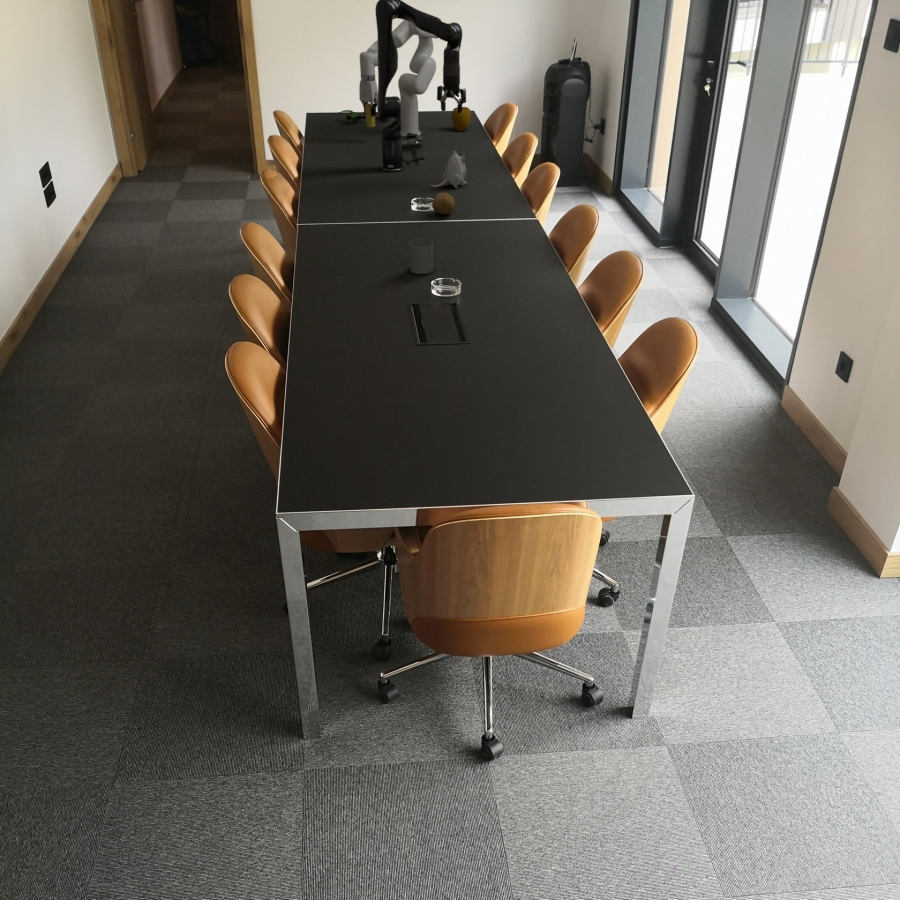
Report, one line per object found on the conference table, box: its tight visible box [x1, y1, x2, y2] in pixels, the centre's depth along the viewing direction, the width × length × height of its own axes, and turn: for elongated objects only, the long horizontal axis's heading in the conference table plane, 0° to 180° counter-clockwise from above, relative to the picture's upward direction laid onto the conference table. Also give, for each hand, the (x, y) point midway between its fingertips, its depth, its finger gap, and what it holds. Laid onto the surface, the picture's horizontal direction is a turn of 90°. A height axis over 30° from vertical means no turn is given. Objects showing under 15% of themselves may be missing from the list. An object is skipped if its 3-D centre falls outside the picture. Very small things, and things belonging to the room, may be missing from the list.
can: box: [365, 102, 376, 128], centre depth 459 cm, size 5×5×11 cm
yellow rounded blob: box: [451, 106, 472, 132], centre depth 487 cm, size 11×11×13 cm
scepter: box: [337, 109, 389, 125], centre depth 507 cm, size 6×13×30 cm
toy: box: [428, 149, 468, 189], centre depth 390 cm, size 9×24×15 cm, turn 137°
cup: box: [408, 237, 434, 275], centre depth 305 cm, size 8×8×10 cm
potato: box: [431, 192, 456, 216], centre depth 360 cm, size 10×14×8 cm
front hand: (451, 112), depth 390 cm, fingers open, 8 cm apart
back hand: (370, 114), depth 459 cm, fingers closed on can, 4 cm apart
